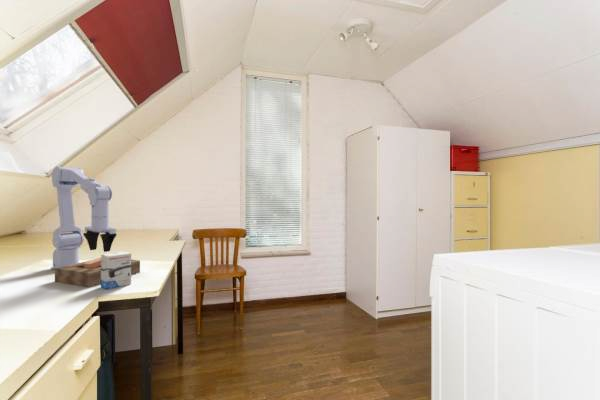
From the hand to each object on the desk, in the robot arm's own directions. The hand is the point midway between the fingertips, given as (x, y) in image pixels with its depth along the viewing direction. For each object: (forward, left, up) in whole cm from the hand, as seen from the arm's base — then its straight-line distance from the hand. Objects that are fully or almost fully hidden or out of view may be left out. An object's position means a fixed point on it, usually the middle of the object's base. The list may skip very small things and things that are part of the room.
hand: (100, 250), depth 123 cm
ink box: (+17, -6, -11) cm, 21 cm away
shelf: (+1, 0, -10) cm, 10 cm away
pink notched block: (+1, 0, -9) cm, 9 cm away
